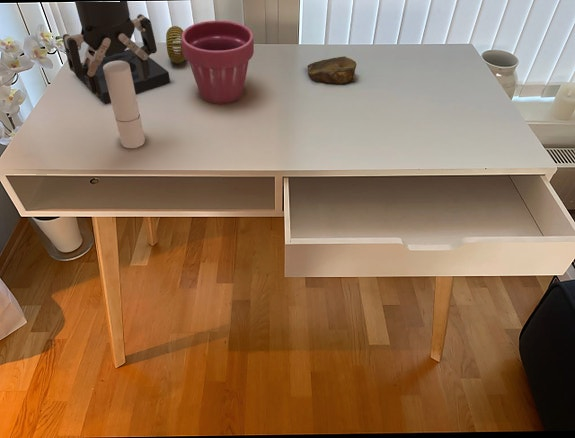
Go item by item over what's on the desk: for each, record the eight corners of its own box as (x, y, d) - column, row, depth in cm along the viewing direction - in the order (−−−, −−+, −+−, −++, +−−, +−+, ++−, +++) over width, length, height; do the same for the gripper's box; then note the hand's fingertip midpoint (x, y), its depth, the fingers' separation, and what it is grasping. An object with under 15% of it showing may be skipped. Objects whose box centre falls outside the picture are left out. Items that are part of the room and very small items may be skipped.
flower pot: (266, 101, 107) (265, 41, 98) (203, 117, 102) (196, 56, 93) (238, 71, 116) (235, 14, 107) (179, 85, 111) (170, 26, 102)
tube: (134, 150, 93) (116, 75, 83) (116, 143, 95) (97, 68, 84) (149, 139, 96) (135, 64, 86) (132, 132, 97) (115, 58, 87)
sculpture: (171, 53, 121) (166, 20, 116) (188, 53, 122) (184, 20, 116) (168, 69, 116) (163, 35, 110) (186, 69, 116) (182, 34, 110)
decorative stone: (310, 86, 112) (311, 71, 109) (305, 65, 118) (305, 51, 116) (357, 84, 112) (359, 69, 110) (349, 64, 119) (351, 49, 117)
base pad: (105, 104, 105) (102, 93, 103) (76, 75, 113) (73, 65, 111) (170, 82, 112) (168, 71, 110) (138, 57, 120) (136, 47, 118)
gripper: (130, -29, 82) (148, 66, 93) (41, -9, 75) (72, 90, 86) (153, -15, 77) (168, 82, 89) (60, 7, 71) (90, 109, 82)
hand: (121, 86), depth 87 cm, fingers open, 8 cm apart
